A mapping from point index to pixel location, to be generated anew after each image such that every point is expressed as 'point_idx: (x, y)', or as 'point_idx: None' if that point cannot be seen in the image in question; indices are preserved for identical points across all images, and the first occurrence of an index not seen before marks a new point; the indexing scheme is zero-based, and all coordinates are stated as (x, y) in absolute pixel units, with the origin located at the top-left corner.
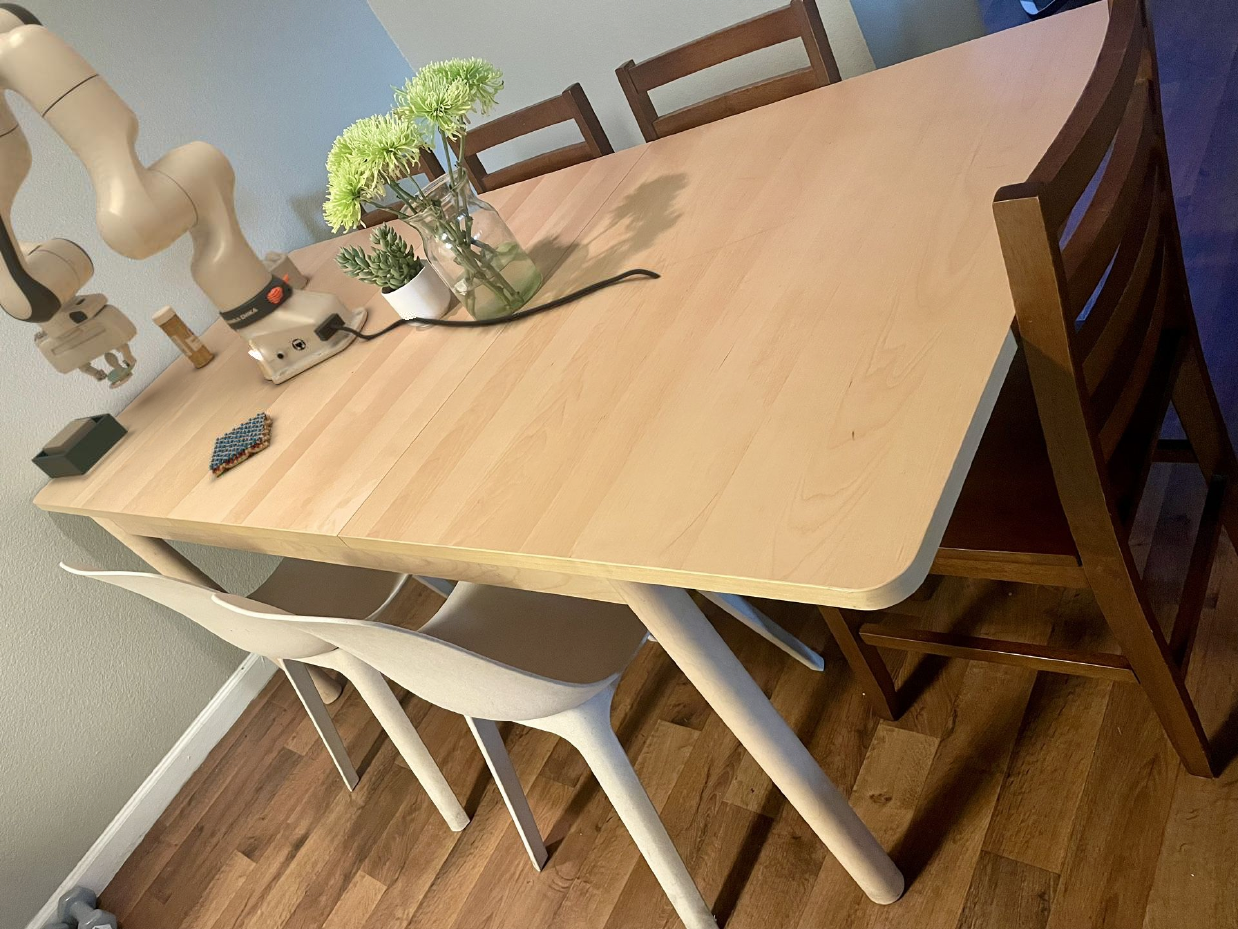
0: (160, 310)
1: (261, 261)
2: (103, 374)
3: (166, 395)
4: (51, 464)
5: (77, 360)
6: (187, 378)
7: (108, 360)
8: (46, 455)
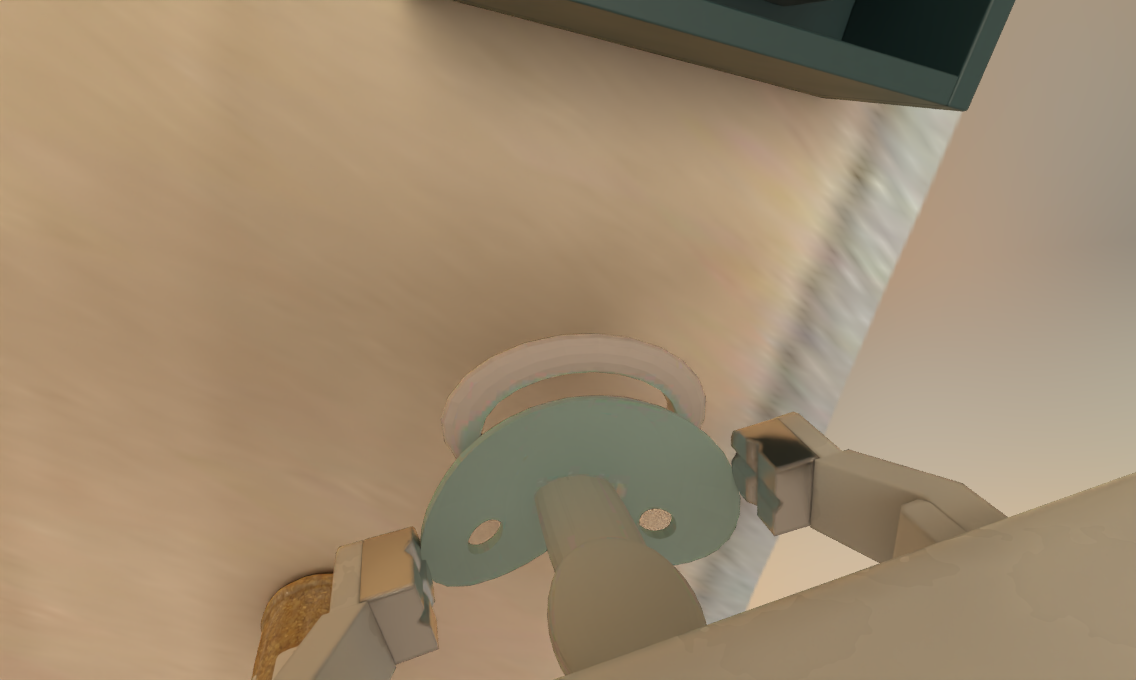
0: None
1: None
2: (754, 481)
3: (422, 388)
4: None
5: (995, 617)
6: (356, 505)
7: (651, 615)
8: None
